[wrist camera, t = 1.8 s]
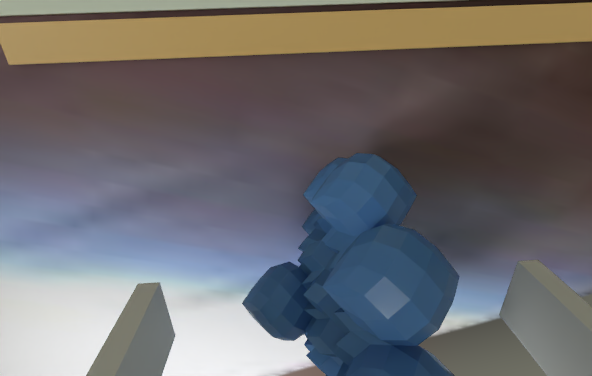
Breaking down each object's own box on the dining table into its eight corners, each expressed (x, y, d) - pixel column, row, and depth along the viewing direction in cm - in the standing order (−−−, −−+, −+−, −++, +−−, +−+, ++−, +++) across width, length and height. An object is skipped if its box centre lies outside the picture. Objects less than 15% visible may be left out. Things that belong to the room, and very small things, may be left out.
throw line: (14, 64, 13) (9, 65, 13) (-2, 23, 13) (-8, 23, 12) (608, 40, 14) (615, 40, 14) (622, 1, 14) (630, 1, 13)
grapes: (239, 112, 15) (140, 330, 4) (382, 104, 15) (662, 289, 4) (261, 298, 20) (246, 612, 9) (368, 289, 20) (476, 586, 9)
